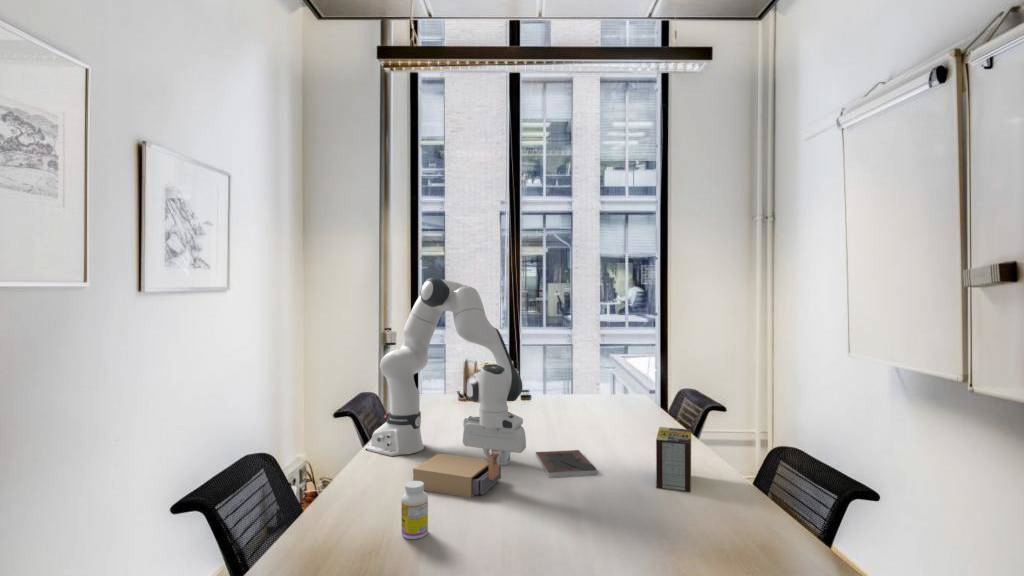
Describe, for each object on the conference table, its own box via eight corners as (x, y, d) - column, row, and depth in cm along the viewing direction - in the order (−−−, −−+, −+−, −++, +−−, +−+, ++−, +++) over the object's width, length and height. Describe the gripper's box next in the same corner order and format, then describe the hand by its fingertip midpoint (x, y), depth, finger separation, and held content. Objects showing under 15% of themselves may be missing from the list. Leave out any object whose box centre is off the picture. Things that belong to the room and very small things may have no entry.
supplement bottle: (403, 528, 138) (403, 479, 138) (428, 527, 139) (428, 478, 139) (399, 541, 132) (399, 489, 132) (426, 540, 132) (426, 488, 132)
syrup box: (507, 465, 186) (507, 424, 186) (490, 464, 187) (490, 423, 187) (510, 460, 192) (510, 420, 192) (494, 459, 193) (494, 419, 193)
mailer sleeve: (413, 487, 166) (413, 468, 166) (438, 471, 181) (438, 453, 181) (470, 497, 158) (470, 477, 158) (492, 479, 173) (492, 460, 173)
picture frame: (596, 476, 178) (578, 456, 199) (596, 469, 178) (578, 449, 199) (548, 479, 175) (535, 458, 196) (548, 472, 175) (535, 451, 196)
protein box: (691, 475, 177) (691, 429, 177) (690, 492, 162) (691, 442, 162) (658, 471, 180) (658, 426, 180) (655, 488, 166) (655, 438, 166)
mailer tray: (422, 485, 166) (422, 452, 166) (444, 470, 179) (444, 440, 179) (485, 495, 158) (485, 461, 157) (504, 479, 171) (504, 447, 171)
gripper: (459, 417, 165) (459, 462, 165) (520, 424, 157) (520, 470, 158) (468, 413, 171) (468, 456, 171) (527, 419, 163) (527, 464, 164)
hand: (493, 463), depth 164 cm, fingers closed on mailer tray
